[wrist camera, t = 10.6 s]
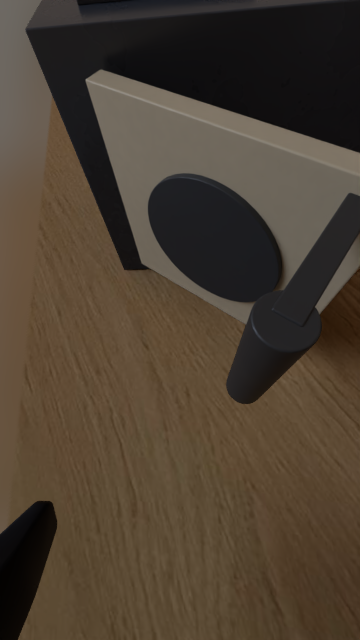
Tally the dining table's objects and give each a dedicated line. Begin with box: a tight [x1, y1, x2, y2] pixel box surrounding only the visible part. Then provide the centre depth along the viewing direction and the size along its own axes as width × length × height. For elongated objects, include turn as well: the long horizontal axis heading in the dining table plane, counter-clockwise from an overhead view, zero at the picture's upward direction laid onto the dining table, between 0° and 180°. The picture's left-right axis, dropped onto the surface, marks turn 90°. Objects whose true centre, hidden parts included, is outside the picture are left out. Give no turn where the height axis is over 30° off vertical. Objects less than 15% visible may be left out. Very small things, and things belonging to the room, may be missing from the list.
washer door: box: [86, 70, 360, 404], centre depth 12 cm, size 6×10×10 cm, turn 54°
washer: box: [25, 0, 360, 270], centre depth 17 cm, size 14×15×14 cm
